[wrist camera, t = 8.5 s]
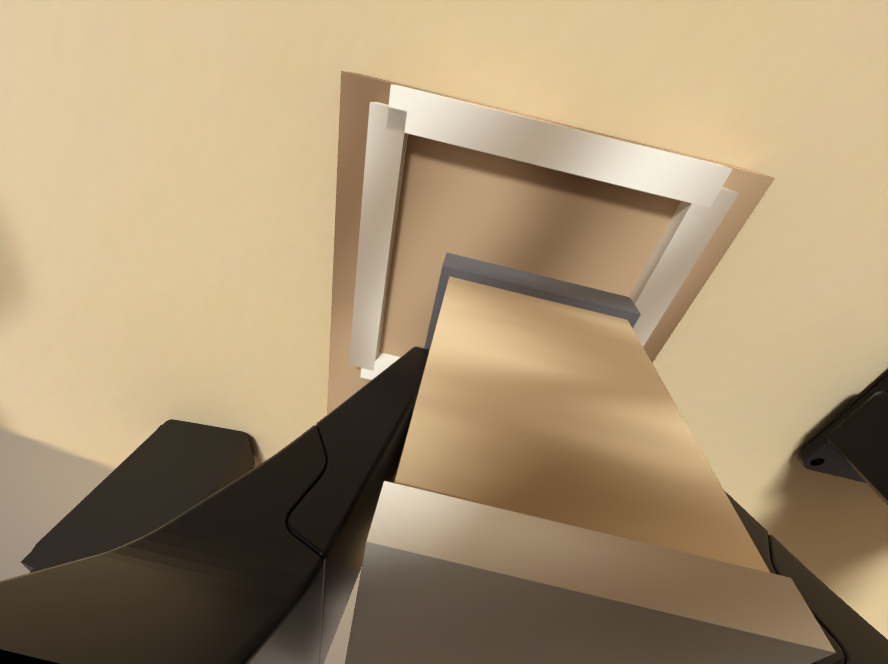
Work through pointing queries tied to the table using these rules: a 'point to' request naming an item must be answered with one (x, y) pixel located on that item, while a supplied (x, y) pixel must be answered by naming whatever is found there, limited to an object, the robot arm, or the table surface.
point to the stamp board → (509, 216)
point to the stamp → (559, 502)
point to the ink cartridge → (147, 491)
